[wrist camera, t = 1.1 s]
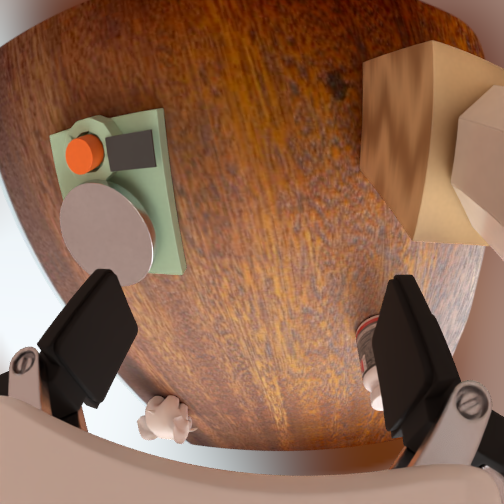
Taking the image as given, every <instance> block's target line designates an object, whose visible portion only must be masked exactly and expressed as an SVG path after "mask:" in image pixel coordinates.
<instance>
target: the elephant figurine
mask: <svg viewBox="0 0 504 504" xmlns="http://www.w3.org/2000/svg"><path fill="white" fill-rule="evenodd" d="M137 423H138V428H139V432H140V434H141V436H142V438H143V439H145V440H153V439H155V438H157V437H159V438H163V439H172V440H175V442H176V443H179V444H182V443H184V441H185V439H186V438H187V436H188V432H191V431H194V430H196V429H197V428H193V429H191V426H192V418H191V417H190V416H188V407H187V405H185V404H184V403H179V398H177V397H175V396H173V395H169V396H167V398H166V399H164V398H163V397H161V396H154V397H153V398H152V399H151V400H150V401H149V402H148V404H147V406H146V411H145V416H142V417H140V419H138V421H137Z"/></svg>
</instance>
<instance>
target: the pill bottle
mask: <svg viewBox="0 0 504 504" xmlns="http://www.w3.org/2000/svg"><path fill="white" fill-rule="evenodd" d="M378 317H379V315H376V316H373V317H370V318H368V319H367V320H365V321H364V322H363V323H362V324H361V325H360V326H359V328H358V329H357V332H356V342H357V347H358V353H359V359H360V365H361V372H362V378H363V384H364V386H365V388H366V389H367V390H368V391H370V392H371V394H370V400H371V405H372V407H373V408H374V409H375V410H379V411H383V404H382V398H381V392H380V386H379V380H378V374H377V369H376V364H375V358H374V353H373V349H372V337H373V333H374V330H375V327H376V324H377V321H378Z"/></svg>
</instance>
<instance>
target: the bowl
mask: <svg viewBox="0 0 504 504" xmlns="http://www.w3.org/2000/svg"><path fill="white" fill-rule="evenodd" d="M451 185H452V186H453V188H454V190H455V192H456V194H457V196H458V198H459V200H460V202H461V204H462V206H463V208H464V210H465V212H466V214H467V216H468V218H469V221H470V223H471V225H472V227H473V228H474V229H475V230H476V231H477V232H478V233H479V234H480V236H481V237H482V238H483V239H484V240H485V241H486V242H487V243H488V244H489V245H490V246H491V247H492V249H493V250H494V251H495V252H496V253H497V254H498V255H499V256H500V258H501V259H502V260H503V261H504V86H499V85H493V86H492V87H491V88H490V89H489V90H488V91H487V92H486V93H485V94H484V95H482V96H481V97H480V98H479V99H478V100H477V101H476V102H475V103H474V104H473V105H472V106H470V107H469V108H468V109H467V110H466V111H465V112H464V113H463V114H462V115H461V116H459V119H458V130H457V139H456V148H455V156H454V163H453V169H452V175H451Z"/></svg>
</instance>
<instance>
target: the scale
mask: <svg viewBox="0 0 504 504" xmlns="http://www.w3.org/2000/svg"><path fill="white" fill-rule="evenodd" d="M151 129H152V135H153V143H154V151H155V158H156V165H157V167H152V168H142V169H132V170H123V171H114V172H111V171H110V166H109V160H108V154H107V148H106V142H105V138H106V137H110V136H115V135H121V134H126V133H132V132H138V131H144V130H151ZM87 134H92V135H95V136H96V137H98V138H99V140H100V141H101V143H102V145H103V149H104V156H103V160H102V162H101V164H100V165H99V166H98V167H96V168H95V169H93V170H91V171H89V172H87V173H85V174H83V175H78V174H76V173H74V172H73V171H71V169H70V168H69V167H68V165H67V162H66V156H65V154H66V148H67V146H68V144H69V143H70V142H71V141H72V140H73V139H76V138H78V137H81V136H84V135H87ZM50 142H51V148H52V153H53V158H54V163H55V168H56V172H57V177H58V181H59V185H60V189H61V193H62V197H63V201H64V199H65V197H66V196H67V194H68V193H69V192H70V191H71V190H72V189H73V188H75V187H76V186H78V185H79V184H81V183H83V182H85V181H88V180H95V179H100V180H107V181H110V182H113V183H115V184H118V185H119V186H121V187H123V188H124V189H126V190H127V191H128V192H130V193H131V194H132V195H133V196H134V197H135V198H136V199H137V200H138V201H139V202H140V203H141V205H142V206H143V207H144V209H145V210H146V212H147V214H148V215H149V217H150V219H151V222H152V224H153V227H154V230H155V233H156V239H157V254H156V259H155V262H154V264H153V266H152V268H151V269H150V271H149V272H148V273H158V274H173V275H183V273H184V272H185V270H186V268H187V267H186V262H185V256H184V251H183V246H182V240H181V235H180V229H179V223H178V217H177V211H176V205H175V198H174V192H173V185H172V178H171V171H170V163H169V155H168V147H167V138H166V129H165V120H164V109H163V108H158V109H152V110H147V111H141V112H136V113H131V114H126V115H121V116H117V117H112V118H107V117H104V116H102V115H97V116H93V117H89V118H86V119H82V120H79V121H77V122H76V123H75V124H74V125H73V126H72V127H71V129H67V130H64V131H61V132H58V133H55V134H52V135H50Z"/></svg>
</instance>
